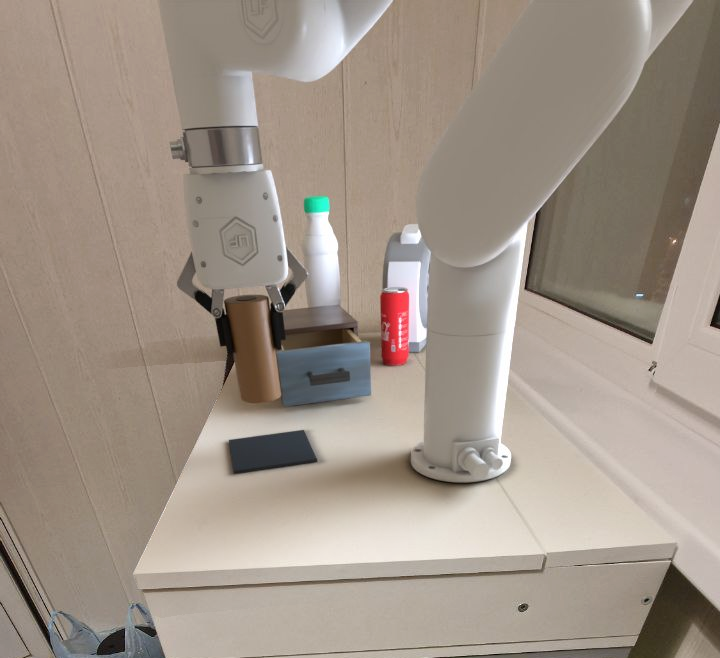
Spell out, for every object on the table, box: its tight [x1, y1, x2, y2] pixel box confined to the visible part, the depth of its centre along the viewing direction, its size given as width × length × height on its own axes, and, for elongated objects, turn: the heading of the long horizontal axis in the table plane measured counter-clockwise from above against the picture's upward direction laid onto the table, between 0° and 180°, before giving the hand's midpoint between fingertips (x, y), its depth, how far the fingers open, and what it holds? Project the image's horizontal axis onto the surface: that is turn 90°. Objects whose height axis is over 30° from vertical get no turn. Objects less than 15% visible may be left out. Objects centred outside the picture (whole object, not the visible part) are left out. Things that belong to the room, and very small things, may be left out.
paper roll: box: [223, 294, 282, 404], centre depth 68 cm, size 5×5×11 cm
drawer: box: [275, 328, 372, 407], centre depth 90 cm, size 19×14×8 cm
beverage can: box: [379, 287, 410, 367], centre depth 103 cm, size 5×5×12 cm
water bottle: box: [300, 195, 342, 308], centre depth 109 cm, size 7×7×25 cm
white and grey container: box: [381, 223, 431, 353], centre depth 109 cm, size 18×8×20 cm, turn 162°
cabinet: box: [280, 305, 360, 390], centre depth 99 cm, size 16×16×10 cm
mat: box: [228, 429, 318, 474], centre depth 76 cm, size 11×11×1 cm
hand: (253, 348), depth 68 cm, fingers closed on paper roll, 5 cm apart
